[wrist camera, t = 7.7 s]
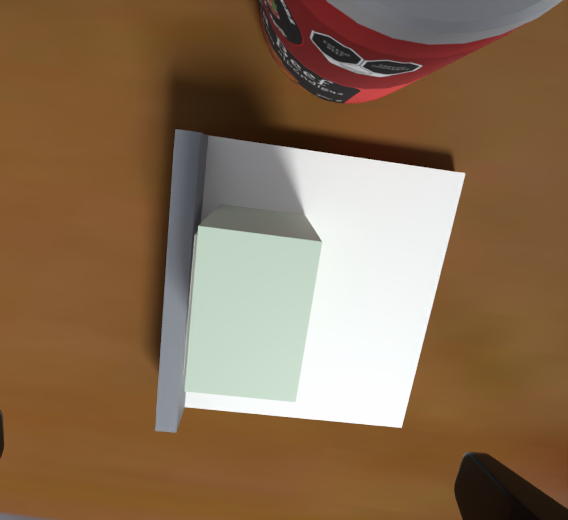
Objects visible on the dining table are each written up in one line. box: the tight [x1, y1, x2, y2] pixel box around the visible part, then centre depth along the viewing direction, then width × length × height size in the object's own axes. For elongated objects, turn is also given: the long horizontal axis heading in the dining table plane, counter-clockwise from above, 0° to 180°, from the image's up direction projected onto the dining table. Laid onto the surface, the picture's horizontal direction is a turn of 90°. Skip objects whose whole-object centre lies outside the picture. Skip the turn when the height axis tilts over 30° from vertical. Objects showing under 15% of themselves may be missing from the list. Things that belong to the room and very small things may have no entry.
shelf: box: [155, 129, 465, 433], centre depth 19 cm, size 13×14×3 cm
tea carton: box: [183, 204, 322, 402], centre depth 16 cm, size 4×6×6 cm
